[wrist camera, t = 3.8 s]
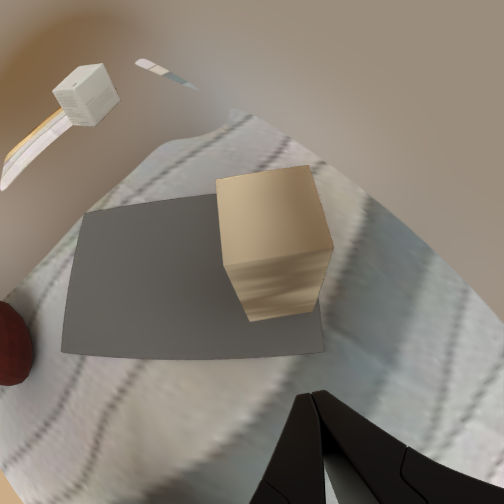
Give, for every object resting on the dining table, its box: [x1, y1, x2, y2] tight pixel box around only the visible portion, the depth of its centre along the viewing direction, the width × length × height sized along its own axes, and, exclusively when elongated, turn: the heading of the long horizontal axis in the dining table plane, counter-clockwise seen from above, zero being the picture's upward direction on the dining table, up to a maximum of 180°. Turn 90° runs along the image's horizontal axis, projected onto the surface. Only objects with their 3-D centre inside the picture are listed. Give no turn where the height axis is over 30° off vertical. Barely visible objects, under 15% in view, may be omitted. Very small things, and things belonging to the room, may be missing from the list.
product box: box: [52, 63, 120, 127], centre depth 33 cm, size 6×6×7 cm
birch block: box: [216, 165, 334, 322], centre depth 17 cm, size 4×4×10 cm
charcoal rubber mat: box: [61, 194, 324, 360], centre depth 24 cm, size 22×14×1 cm, turn 92°
